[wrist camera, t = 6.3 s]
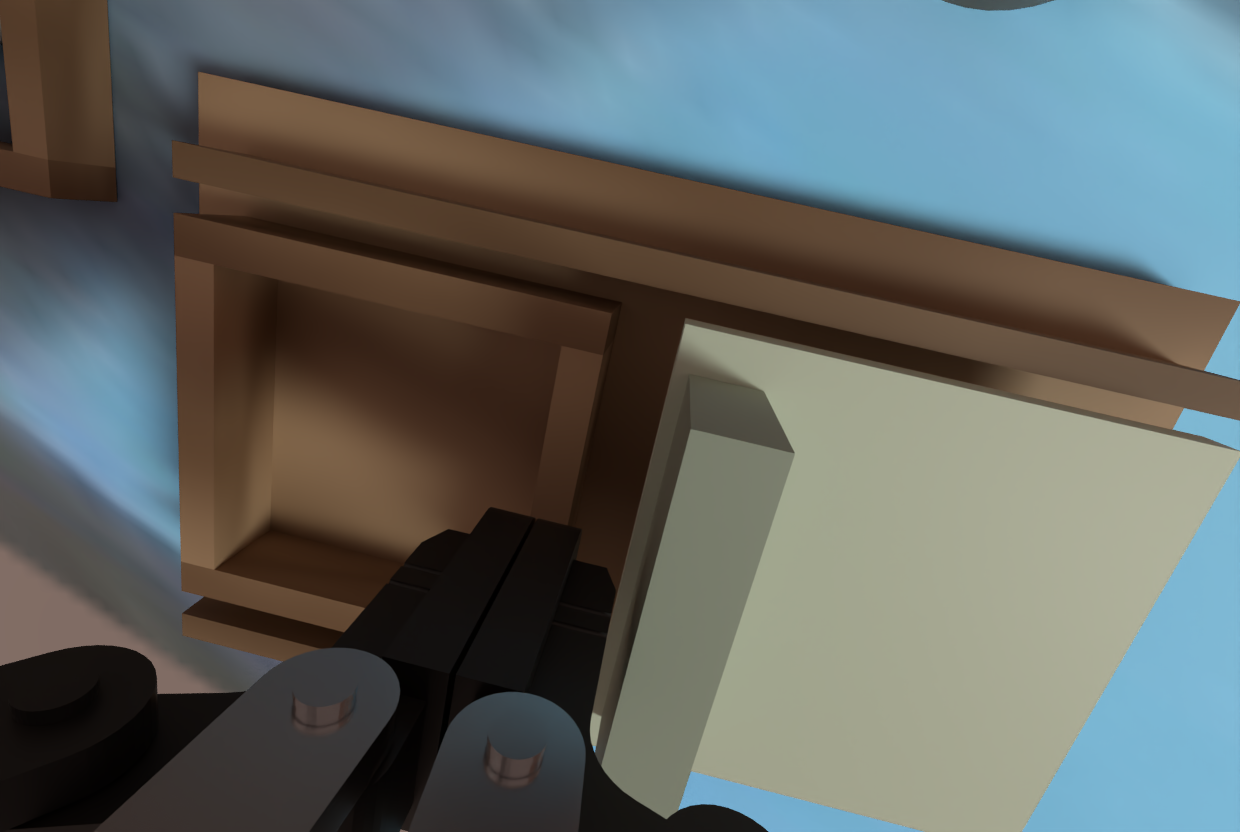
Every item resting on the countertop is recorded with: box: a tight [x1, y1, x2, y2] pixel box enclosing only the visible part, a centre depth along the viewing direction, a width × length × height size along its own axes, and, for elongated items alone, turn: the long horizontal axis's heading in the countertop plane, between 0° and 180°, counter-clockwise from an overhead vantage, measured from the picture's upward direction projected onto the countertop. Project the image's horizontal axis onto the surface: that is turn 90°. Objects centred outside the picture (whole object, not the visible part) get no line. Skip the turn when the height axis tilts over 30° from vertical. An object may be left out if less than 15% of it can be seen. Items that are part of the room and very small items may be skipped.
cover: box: [590, 318, 1240, 832], centre depth 9 cm, size 8×8×4 cm
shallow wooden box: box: [172, 72, 1240, 661], centre depth 13 cm, size 12×20×3 cm, turn 78°
